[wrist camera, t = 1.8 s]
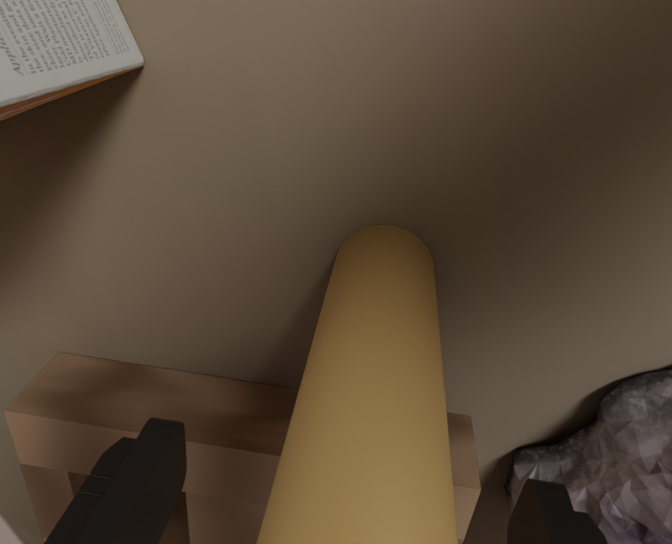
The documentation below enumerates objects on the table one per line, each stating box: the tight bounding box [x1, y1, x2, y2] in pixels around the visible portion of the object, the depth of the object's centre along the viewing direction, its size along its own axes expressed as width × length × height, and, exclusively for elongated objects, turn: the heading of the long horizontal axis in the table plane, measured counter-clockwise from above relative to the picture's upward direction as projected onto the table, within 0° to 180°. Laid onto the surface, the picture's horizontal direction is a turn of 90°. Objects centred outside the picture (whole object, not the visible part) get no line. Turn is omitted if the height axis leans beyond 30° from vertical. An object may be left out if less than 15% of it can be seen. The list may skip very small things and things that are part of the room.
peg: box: [257, 224, 458, 544], centre depth 15 cm, size 4×4×14 cm
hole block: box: [3, 352, 481, 544], centre depth 26 cm, size 20×12×4 cm, turn 85°
